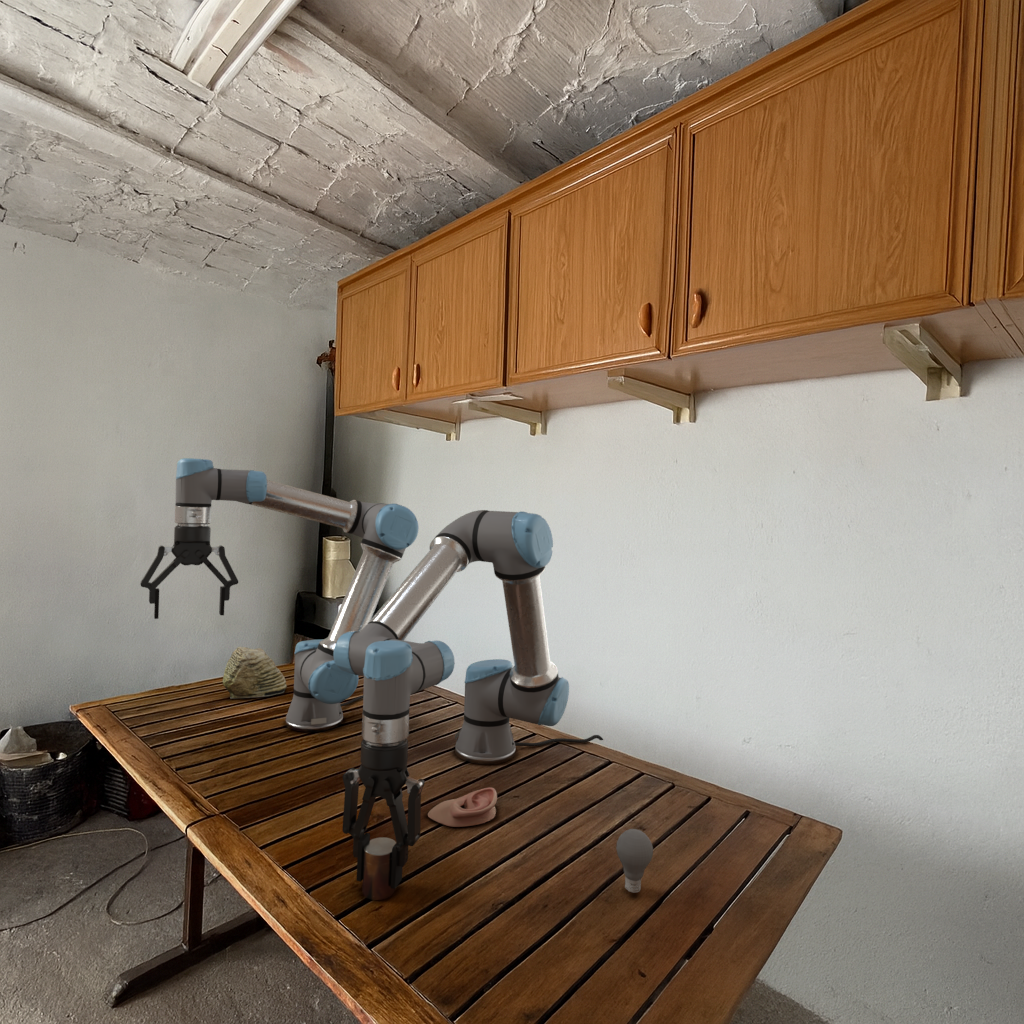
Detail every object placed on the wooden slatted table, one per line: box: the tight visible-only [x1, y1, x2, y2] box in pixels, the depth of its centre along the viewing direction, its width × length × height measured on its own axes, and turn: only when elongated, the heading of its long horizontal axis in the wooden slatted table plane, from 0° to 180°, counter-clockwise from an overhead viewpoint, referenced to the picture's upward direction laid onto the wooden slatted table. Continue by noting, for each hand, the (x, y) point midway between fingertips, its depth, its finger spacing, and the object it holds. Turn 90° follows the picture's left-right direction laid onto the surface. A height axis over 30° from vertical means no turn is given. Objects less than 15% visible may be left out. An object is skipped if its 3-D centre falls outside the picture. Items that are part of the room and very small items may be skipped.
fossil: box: [222, 646, 288, 699], centre depth 198 cm, size 9×18×15 cm, turn 132°
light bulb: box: [615, 828, 654, 894], centre depth 106 cm, size 6×6×10 cm
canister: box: [361, 836, 396, 901], centre depth 103 cm, size 5×5×7 cm
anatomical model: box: [427, 787, 498, 828], centre depth 129 cm, size 13×4×12 cm
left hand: (189, 616), depth 148 cm, fingers open, 13 cm apart
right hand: (379, 879), depth 103 cm, fingers closed on canister, 5 cm apart
